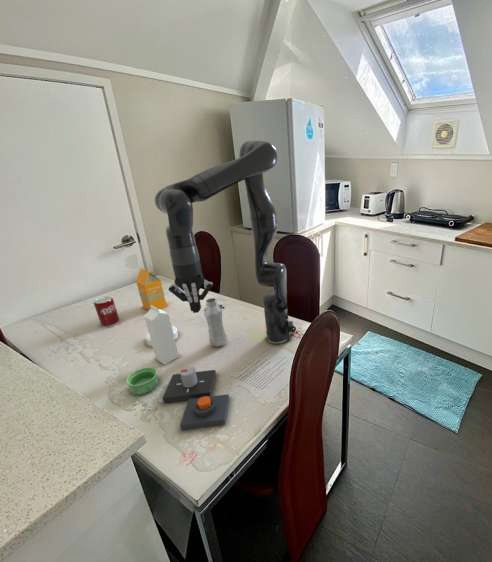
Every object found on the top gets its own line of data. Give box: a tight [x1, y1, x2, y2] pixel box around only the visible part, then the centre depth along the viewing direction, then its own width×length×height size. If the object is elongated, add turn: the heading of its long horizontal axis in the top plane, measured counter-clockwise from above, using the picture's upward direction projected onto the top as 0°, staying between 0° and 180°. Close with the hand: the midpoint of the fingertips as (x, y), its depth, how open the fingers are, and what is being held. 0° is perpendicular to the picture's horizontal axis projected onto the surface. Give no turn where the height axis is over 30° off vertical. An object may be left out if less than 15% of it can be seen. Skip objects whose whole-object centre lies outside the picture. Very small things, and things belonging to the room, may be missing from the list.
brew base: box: [162, 369, 217, 405], centre depth 103 cm, size 14×11×3 cm
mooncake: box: [144, 325, 179, 348], centre depth 130 cm, size 12×12×4 cm
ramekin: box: [125, 366, 159, 395], centre depth 104 cm, size 9×9×4 cm
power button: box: [197, 396, 211, 410], centre depth 92 cm, size 4×4×2 cm
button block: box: [179, 393, 230, 431], centre depth 93 cm, size 12×10×4 cm
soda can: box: [93, 296, 120, 328], centre depth 140 cm, size 7×7×12 cm
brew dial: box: [179, 365, 197, 388], centre depth 101 cm, size 4×4×5 cm
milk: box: [143, 305, 180, 365], centre depth 114 cm, size 6×6×22 cm
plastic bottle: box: [203, 297, 228, 347], centre depth 123 cm, size 6×7×20 cm
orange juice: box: [135, 268, 168, 311], centre depth 153 cm, size 8×9×20 cm
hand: (196, 311), depth 98 cm, fingers closed
